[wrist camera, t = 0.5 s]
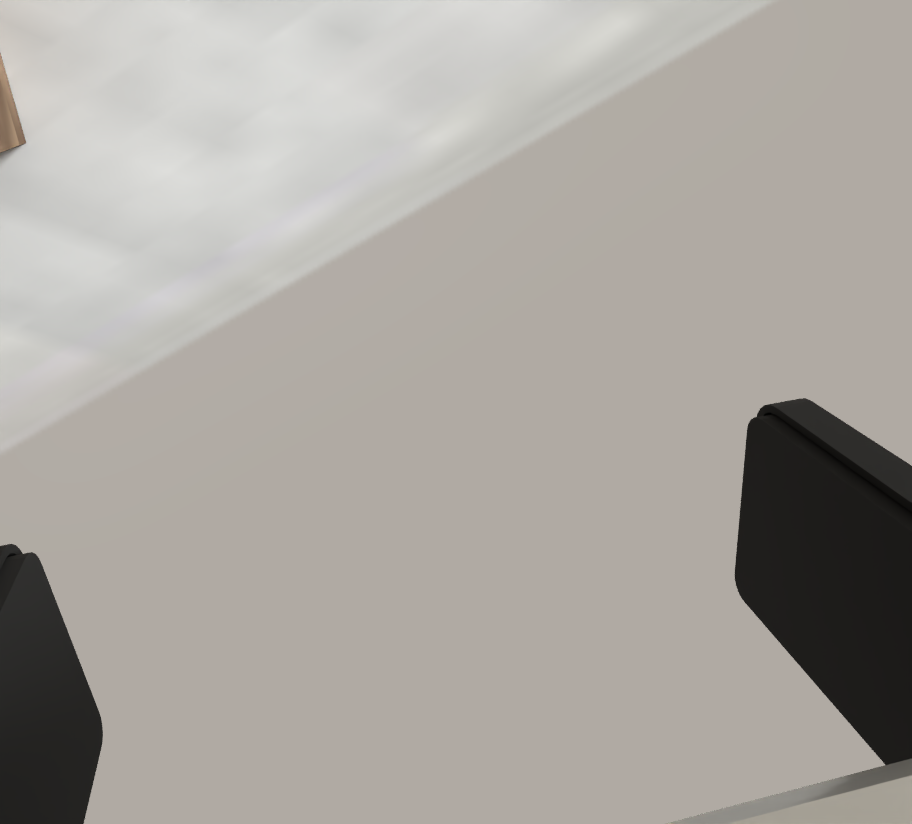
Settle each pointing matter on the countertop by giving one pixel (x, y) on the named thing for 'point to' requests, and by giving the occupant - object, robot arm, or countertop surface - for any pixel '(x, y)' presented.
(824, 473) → the robot arm
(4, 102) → the box
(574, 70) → the countertop surface
